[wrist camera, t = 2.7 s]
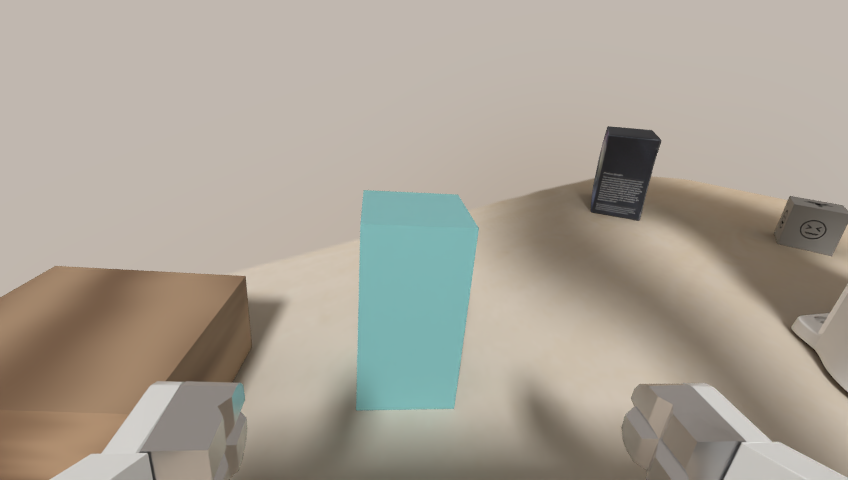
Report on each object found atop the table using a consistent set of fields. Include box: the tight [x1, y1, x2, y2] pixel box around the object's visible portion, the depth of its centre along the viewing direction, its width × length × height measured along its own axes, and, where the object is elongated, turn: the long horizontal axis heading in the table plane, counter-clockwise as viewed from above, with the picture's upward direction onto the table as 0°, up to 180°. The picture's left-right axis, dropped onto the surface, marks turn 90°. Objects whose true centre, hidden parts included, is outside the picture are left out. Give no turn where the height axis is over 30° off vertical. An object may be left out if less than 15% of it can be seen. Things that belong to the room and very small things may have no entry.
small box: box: [591, 126, 661, 220], centre depth 58 cm, size 11×6×10 cm, turn 158°
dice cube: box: [774, 196, 848, 256], centre depth 50 cm, size 5×5×5 cm
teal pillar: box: [356, 190, 479, 410], centre depth 22 cm, size 5×5×10 cm
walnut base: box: [0, 266, 252, 480], centre depth 19 cm, size 10×10×5 cm
